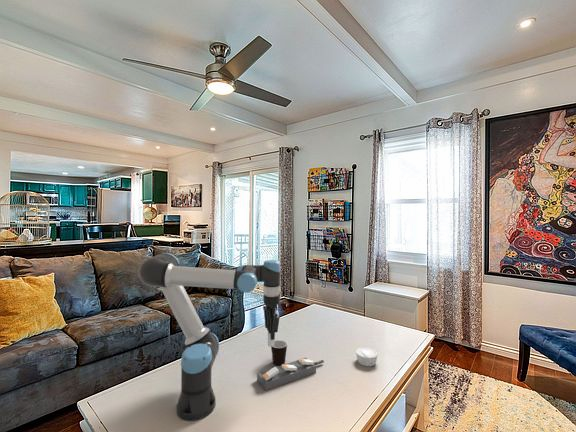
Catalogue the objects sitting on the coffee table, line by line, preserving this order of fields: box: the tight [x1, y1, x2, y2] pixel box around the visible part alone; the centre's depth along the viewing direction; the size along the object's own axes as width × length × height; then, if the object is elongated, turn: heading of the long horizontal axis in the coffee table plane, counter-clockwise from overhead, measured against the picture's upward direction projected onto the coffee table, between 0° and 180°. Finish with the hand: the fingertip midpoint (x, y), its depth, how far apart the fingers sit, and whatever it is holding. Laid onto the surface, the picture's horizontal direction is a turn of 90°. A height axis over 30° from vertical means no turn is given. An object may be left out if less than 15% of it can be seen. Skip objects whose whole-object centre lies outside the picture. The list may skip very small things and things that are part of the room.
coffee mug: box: [270, 339, 288, 367], centre depth 152 cm, size 12×9×10 cm
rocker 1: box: [263, 366, 279, 381], centre depth 131 cm, size 7×3×1 cm, turn 121°
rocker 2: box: [281, 363, 297, 371], centre depth 136 cm, size 7×3×1 cm, turn 122°
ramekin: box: [355, 347, 379, 367], centre depth 152 cm, size 11×11×5 cm
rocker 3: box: [298, 358, 315, 365], centre depth 142 cm, size 7×3×1 cm, turn 122°
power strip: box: [256, 357, 325, 392], centre depth 140 cm, size 36×9×4 cm, turn 121°
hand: (271, 345), depth 131 cm, fingers closed
